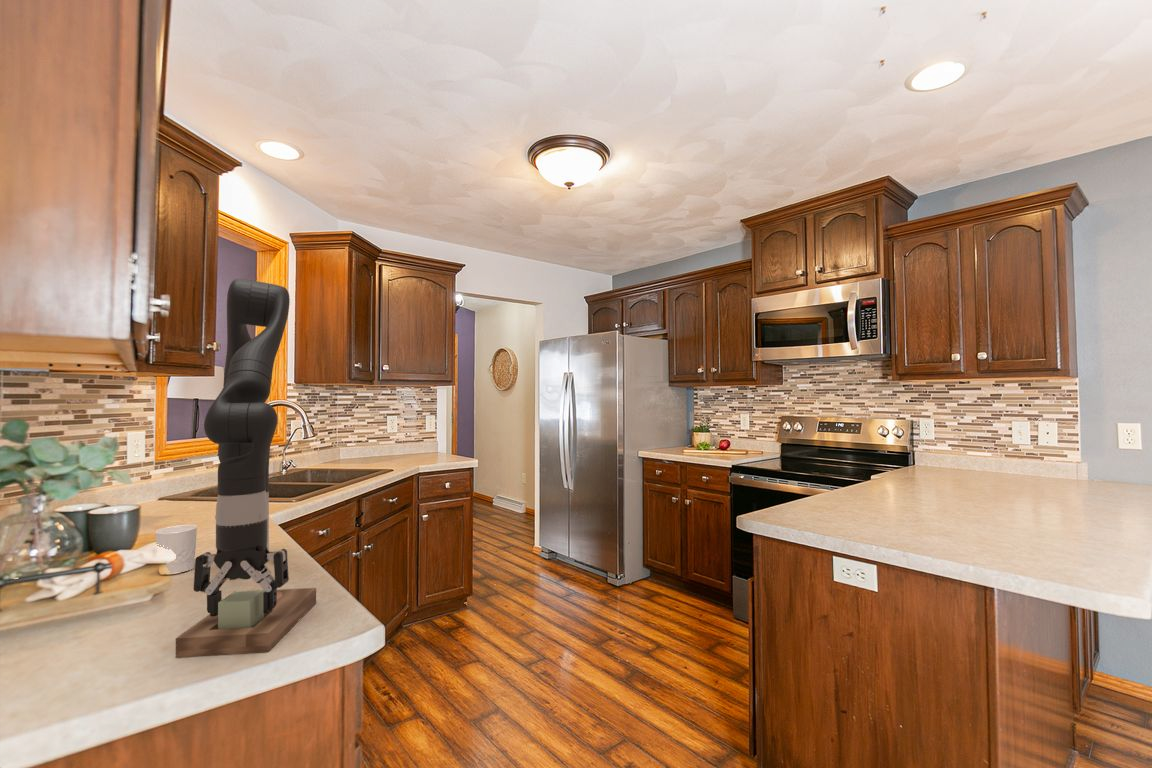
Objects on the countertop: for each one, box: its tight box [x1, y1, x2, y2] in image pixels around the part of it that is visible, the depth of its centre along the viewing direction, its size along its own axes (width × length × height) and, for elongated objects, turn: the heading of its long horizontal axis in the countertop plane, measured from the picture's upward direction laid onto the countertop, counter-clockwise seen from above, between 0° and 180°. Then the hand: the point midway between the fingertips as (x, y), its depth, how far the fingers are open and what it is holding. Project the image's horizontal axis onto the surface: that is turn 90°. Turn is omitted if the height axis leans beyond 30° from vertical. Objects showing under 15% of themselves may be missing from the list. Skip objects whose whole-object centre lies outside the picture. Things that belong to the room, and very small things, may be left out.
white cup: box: [155, 524, 198, 573], centre depth 126 cm, size 8×8×10 cm
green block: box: [218, 589, 264, 629], centre depth 90 cm, size 5×5×6 cm
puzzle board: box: [175, 587, 317, 658], centre depth 94 cm, size 14×20×4 cm
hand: (242, 613), depth 90 cm, fingers open, 8 cm apart
